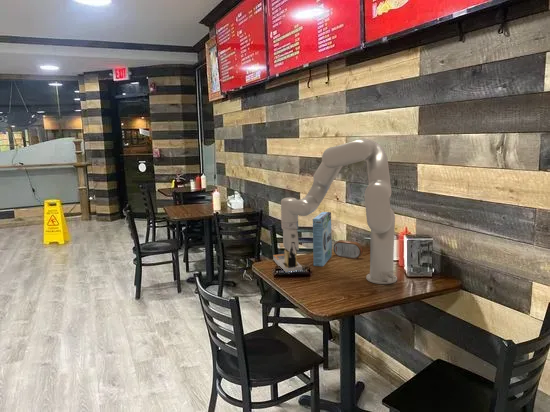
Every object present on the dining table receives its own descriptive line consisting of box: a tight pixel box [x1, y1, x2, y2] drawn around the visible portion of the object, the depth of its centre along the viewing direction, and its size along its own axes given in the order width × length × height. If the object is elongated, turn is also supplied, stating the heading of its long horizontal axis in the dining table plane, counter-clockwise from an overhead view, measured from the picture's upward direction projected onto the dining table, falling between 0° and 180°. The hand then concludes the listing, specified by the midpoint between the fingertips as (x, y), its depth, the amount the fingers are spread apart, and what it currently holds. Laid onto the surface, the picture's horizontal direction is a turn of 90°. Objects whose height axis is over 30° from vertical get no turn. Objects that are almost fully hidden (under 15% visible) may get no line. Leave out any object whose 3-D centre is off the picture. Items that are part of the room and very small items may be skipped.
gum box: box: [312, 211, 333, 267], centre depth 205 cm, size 20×5×23 cm, turn 160°
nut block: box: [283, 249, 298, 267], centre depth 193 cm, size 4×4×9 cm
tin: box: [332, 239, 364, 260], centre depth 212 cm, size 15×3×8 cm, turn 58°
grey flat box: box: [272, 253, 303, 272], centre depth 200 cm, size 22×8×3 cm, turn 14°
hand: (290, 263), depth 194 cm, fingers closed on nut block, 4 cm apart
